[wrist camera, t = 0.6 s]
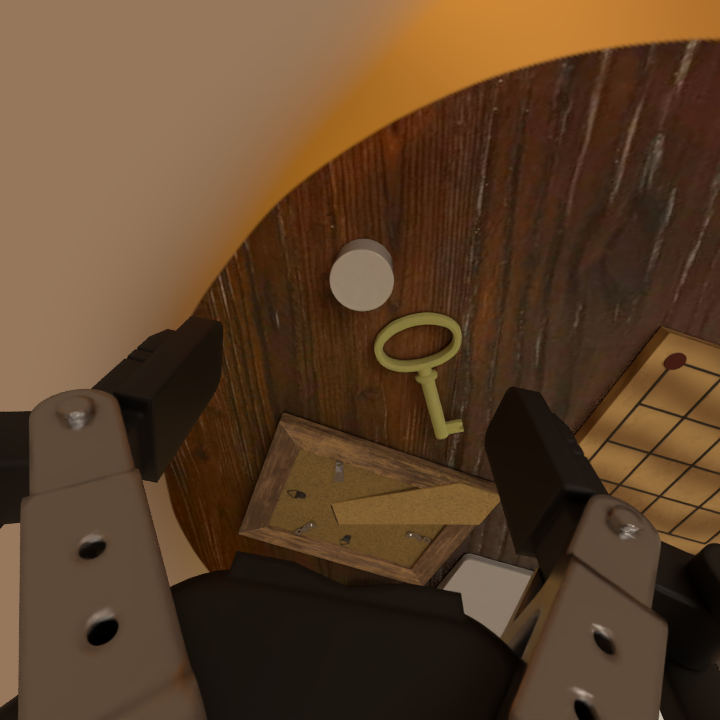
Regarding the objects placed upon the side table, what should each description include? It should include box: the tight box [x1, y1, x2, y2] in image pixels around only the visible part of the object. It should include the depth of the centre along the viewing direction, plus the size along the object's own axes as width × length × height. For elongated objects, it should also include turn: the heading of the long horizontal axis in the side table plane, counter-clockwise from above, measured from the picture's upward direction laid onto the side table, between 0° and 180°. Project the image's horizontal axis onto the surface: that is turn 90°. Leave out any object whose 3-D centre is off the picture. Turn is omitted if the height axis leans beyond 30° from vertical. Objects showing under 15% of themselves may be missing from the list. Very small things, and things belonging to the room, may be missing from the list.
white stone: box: [330, 239, 394, 311], centre depth 30 cm, size 5×5×3 cm
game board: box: [574, 327, 720, 555], centre depth 38 cm, size 22×22×1 cm
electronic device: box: [437, 554, 534, 638], centre depth 54 cm, size 29×20×2 cm
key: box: [374, 313, 464, 439], centre depth 34 cm, size 7×12×2 cm, turn 36°
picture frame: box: [238, 412, 500, 586], centre depth 44 cm, size 19×2×24 cm
